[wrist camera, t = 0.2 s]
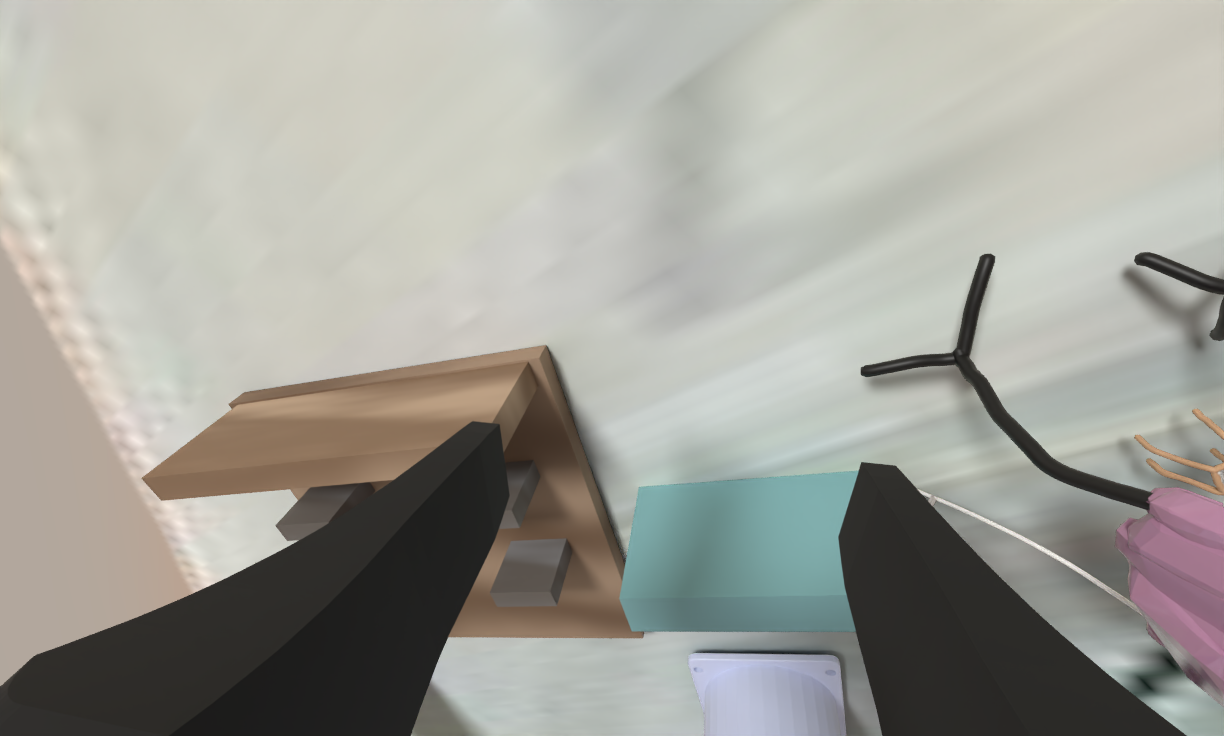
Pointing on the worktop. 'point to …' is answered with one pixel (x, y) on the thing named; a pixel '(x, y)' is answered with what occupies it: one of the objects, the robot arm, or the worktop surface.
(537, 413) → the board
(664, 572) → the door panel
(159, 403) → the worktop surface
